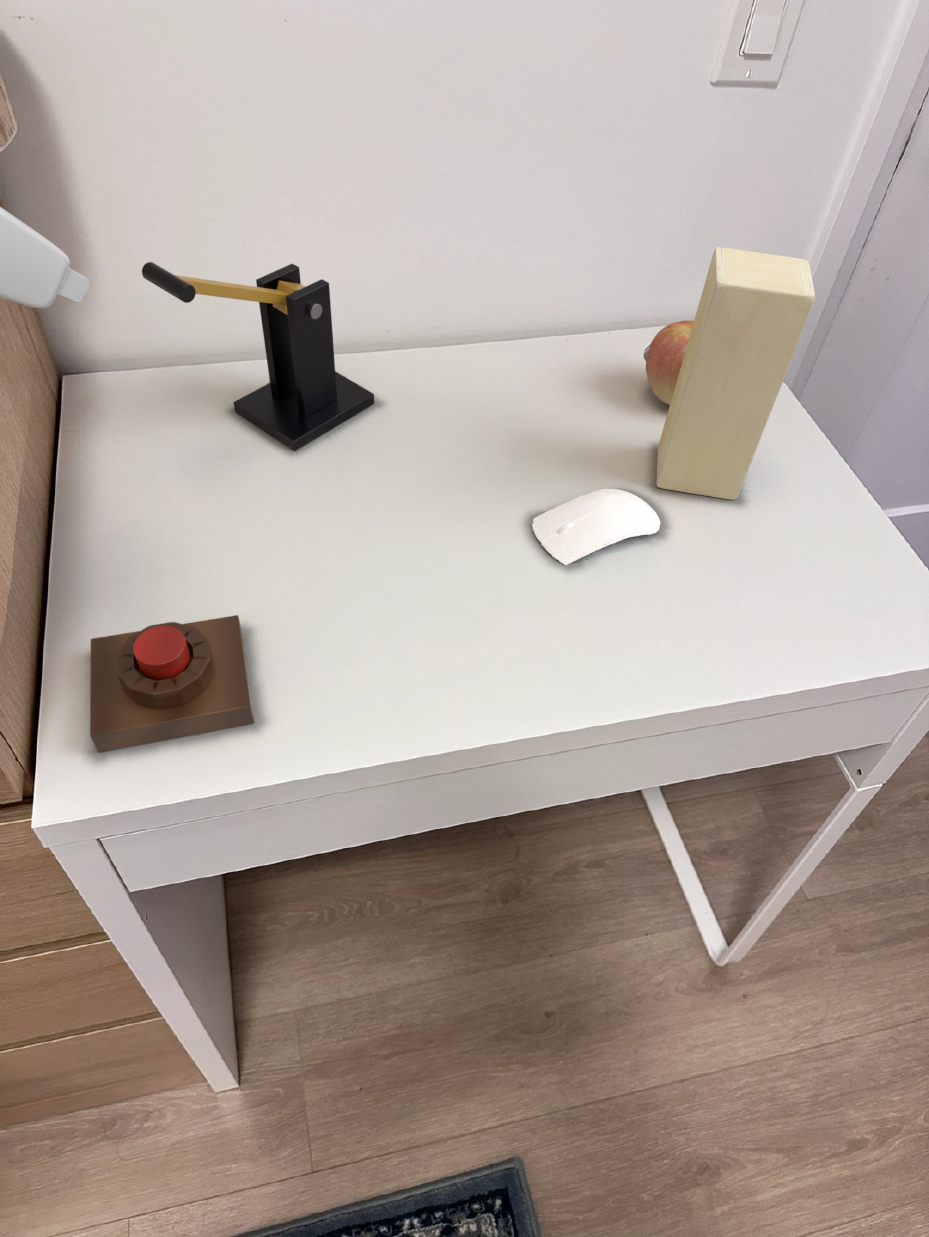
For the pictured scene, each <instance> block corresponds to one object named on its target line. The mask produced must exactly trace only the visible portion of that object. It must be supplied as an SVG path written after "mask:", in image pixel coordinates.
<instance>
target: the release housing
mask: <svg viewBox="0 0 929 1237" xmlns="http://www.w3.org/2000/svg"><path fill="white" fill-rule="evenodd" d="M239 616H240V615H238V614H237V615H236V614H235V615H229V616H223V617H218V618H217V617H216V618H210V619H205V620H204V619H203V620H198V621H192V622H187V623H180V622H176V621H170V622H163V623H158V624H150V625H147V626H146V627H144V628H143V629H141V630H138V631H131V632H125V633H119V634H113V635H105V636H101V637H94V638H90V686H89V687H90V695H89V698H90V699H89V700H90V703H89V704H90V705H89V707H90V709H89V713H90V714H89V715H90V716H89V729H90V730H89V737H90V738H91V741H92V743H93V745H94V747H95V749H96V751H97V752H98V753H105V752H109V751H115V750H120V749H126V748H131V747H135V746H141V745H146V744H153V743H158V742H164V741H168V740H175V739H179V738H185V737H190V736H196V735H200V734H206V733H211V732H216V731H222V730H226V729H232V728H237V727H242V726H248V725H253V724H255V717H254V716H255V715H254V708H253V702H252V694H251V686H250V680H249V672H248V666H247V659H246V652H245V650H246V649H245V643H244V636H243V629H242V626H241V620H240V617H239ZM157 626H170V627H174V628H176V629H178V630H180V631H181V632H182V633H183V635H184V637H185V639H186V643H187V646H188V649H189V653H190V660H189V663H188V665H187V667H186V668H185V669H184V670H183V671H182V672H181V673H179V674H178V675H176V676H174V677H172V678H168V679H162V680H158V679H152V678H149V677H147V676H146V675H144V674H143V673H142V672H141V670H140V668H139V666H138V663H137V660H136V658H135V655H134V652H133V647H134V643H135V641H136V639H137V638H138V637H139V636H140V635H141V634H142V633H143V632H145V631H146V630H148V629H151V628H153V627H157Z"/></svg>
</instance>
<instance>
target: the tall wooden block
mask: <svg viewBox="0 0 929 1237" xmlns="http://www.w3.org/2000/svg"><path fill="white" fill-rule="evenodd" d="M708 268H709V269H708V271H707V274H706V278H705V282H704V285H703V288H702V292H701V296H700V299H699V301H698V302H699V303H698V305H697V309H696V313H695V317H694V320H693V321H694V323H693V327H692V330H691V334H690V337H689V341H688V344H687V348H686V351H685V355H684V359H683V362H682V365H681V369H680V372H679V376H678V379H677V383H676V386H675V390H674V393H673V396H672V400H671V404H670V405H669V408H668V411H667V414H666V418H665V421H664V425H663V428H662V430H661V431H662V432H661V434H660V438H659V442H658V446H657V458H656V459H657V461H656V487H657V488H660V489H664V490H671V491H675V492H682V493H688V494H694V495H699V496H700V495H701V496H707V497H713V498H719V499H723V500H736V499H738V497H739V494H740V492H741V490H742V487H743V484H744V482H745V480H746V477H747V474H748V471H749V469H750V467H751V465H752V461H753V459H754V456H755V454H756V451H757V449H758V447H759V444H760V441H761V439H762V436H763V434H764V431H765V429H766V427H767V424H768V421H769V418H770V416H771V413H772V411H773V408H774V406H775V403H776V401H777V398H778V396H779V393H780V390H781V388H782V385H783V383H784V380H785V378H786V377H787V376H786V375H787V373H788V371H789V368H790V365H791V363H792V360H793V358H794V356H795V353H796V350H797V348H798V345H799V343H800V340H801V338H802V335H803V332H804V330H805V327H806V324H807V322H808V320H809V317H810V315H811V312H812V309H813V307H814V304H815V300H816V293H815V287H814V282H813V276H812V271H811V270H812V269H811V266H810V261H809V260H807V259H804V258H799V257H792V256H787V255H786V256H785V255H780V254H779V255H778V254H771V253H764V252H763V253H762V252H757V251H750V250H743V249H737V248H729V247H724V246H723V247H721V246H716V247H715V248H714V250H713V252H712V257H711V260H710V264H709V267H708Z"/></svg>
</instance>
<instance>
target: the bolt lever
mask: <svg viewBox="0 0 929 1237" xmlns="http://www.w3.org/2000/svg"><path fill="white" fill-rule="evenodd" d="M141 276H142V278H144V280H146V281H148V282H149V283H151V284H153V285H154V286H156V287H158V288H159V289H161V290H163V291H165V292H166V293H168V294H169V295H171V296H173V297H175V298H176V299H178V300H179V301H181V302H183V303H186V304H189V303H191V302H192V301H194V299H195V298H196V295H202V296H207V297H208V296H210V297H216V298H227V299H232V300H240V301H247V302H255V303H256V302H257V303H259V302H263V303H271V304H273V307H274V308H276V309H278V310H280V311H282V312H283V313H285V314H287V315H288V313H287V304H286V296H287V295H289V294H291V293H293V292H296V291H298V290H300V289H302V288H304V287H306V286H305V285H303V284H297V283H291V282H284V281H279V282H278V286H277V290H274V289H267V288H260V287H257V286H253V285H246V284H240V283H233V282H226V281H225V282H224V281H219V280H218V281H217V280H213V279H212V280H211V279H205V278H198V277H191V276H185V275H179V274H178V275H177V274H173V273H172V272H170V271H168V270H167V269H165V268H163V267H161V266H160V265H159V264H156V263H155V262H152V261H147V262H146V263H144V264H143V266H142V267H141Z"/></svg>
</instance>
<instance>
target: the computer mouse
mask: <svg viewBox="0 0 929 1237" xmlns="http://www.w3.org/2000/svg"><path fill="white" fill-rule="evenodd" d="M531 528H532V531H533V534H534V536H535V538H537V540H538V542H540V543H541V546H542V547H543V548H544V550H546V552H548V554H550V555H551V556H552V558H553V559H555V560H558V561H559V563H561V564H563V565H564V566H567V565H569V564H571V563H572V564H573V562H575V561H577V560H579V559H580V560H581V558H583V557H586V556H588V555H590V554H592V553H595V552H597V551H598V550H601V549H602V548H603V549H604V548H606V547H607V546H609V545H613V544H615V543H618V542H621V541H623V540H625V539H627V538H628V539H629V538H632V537H639V536H645V535H649V536H650V535H654V534H656V533H658V532H659V531H660V528H661V520H660V517H659V515H658V514H657V512H656V511H655V510H654V509H653V507H651V505H649V503H647V502H646V501H645V500H643V499H642V498H641V497H639V496H637V495H635V494H634V493H631V492H630V491H629V492H628V491H627V490H622V489H618V488H601V489H597V490H594V491H590V492H588V493H585V494H582V495H579V496H577V497H576V498H572V499H570V500H568V501H565V502H563V503H561V504H559V505H558V506H555V507H553V508H551V509H549V510H547V511H544V512H543V513H542V514H539V515H537V516H536V517H533V519H532V523H531Z"/></svg>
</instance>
